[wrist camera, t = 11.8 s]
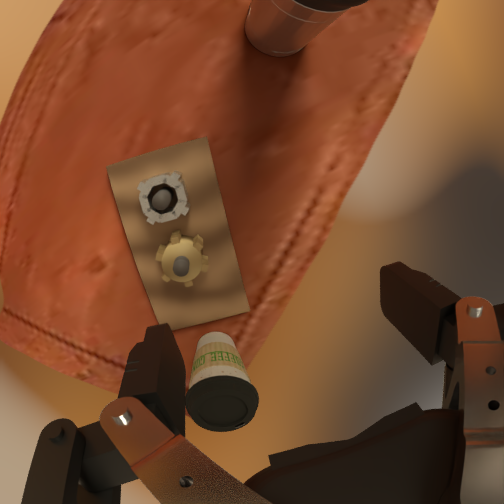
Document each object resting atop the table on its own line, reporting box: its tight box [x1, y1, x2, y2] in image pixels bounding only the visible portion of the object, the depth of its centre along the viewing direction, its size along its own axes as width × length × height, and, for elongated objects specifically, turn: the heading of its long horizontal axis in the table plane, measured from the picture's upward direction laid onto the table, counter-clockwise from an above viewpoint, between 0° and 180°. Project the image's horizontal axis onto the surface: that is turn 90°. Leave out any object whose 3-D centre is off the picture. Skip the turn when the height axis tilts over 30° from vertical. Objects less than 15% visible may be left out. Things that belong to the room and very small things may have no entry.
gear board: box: [106, 137, 250, 330], centre depth 41 cm, size 26×14×8 cm, turn 13°
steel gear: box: [137, 170, 190, 225], centre depth 39 cm, size 6×6×4 cm
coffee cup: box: [185, 332, 259, 432], centre depth 44 cm, size 10×10×15 cm
